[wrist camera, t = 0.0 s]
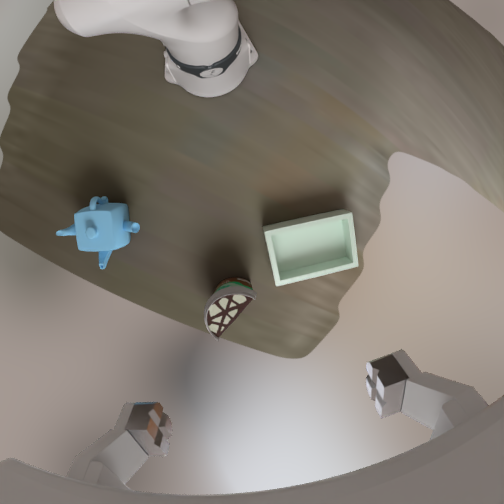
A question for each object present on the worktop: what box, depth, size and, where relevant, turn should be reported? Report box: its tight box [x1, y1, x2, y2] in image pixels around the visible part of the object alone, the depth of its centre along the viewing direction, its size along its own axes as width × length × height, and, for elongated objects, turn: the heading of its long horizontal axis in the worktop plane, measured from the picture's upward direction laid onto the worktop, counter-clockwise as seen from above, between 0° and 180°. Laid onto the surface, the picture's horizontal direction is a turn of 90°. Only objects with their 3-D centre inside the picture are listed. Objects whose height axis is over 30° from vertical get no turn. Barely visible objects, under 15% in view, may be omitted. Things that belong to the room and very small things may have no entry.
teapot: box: [56, 196, 140, 269], centre depth 51 cm, size 18×14×10 cm
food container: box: [204, 277, 257, 340], centre depth 55 cm, size 12×6×10 cm, turn 142°
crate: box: [262, 209, 358, 286], centre depth 56 cm, size 11×17×5 cm, turn 103°
